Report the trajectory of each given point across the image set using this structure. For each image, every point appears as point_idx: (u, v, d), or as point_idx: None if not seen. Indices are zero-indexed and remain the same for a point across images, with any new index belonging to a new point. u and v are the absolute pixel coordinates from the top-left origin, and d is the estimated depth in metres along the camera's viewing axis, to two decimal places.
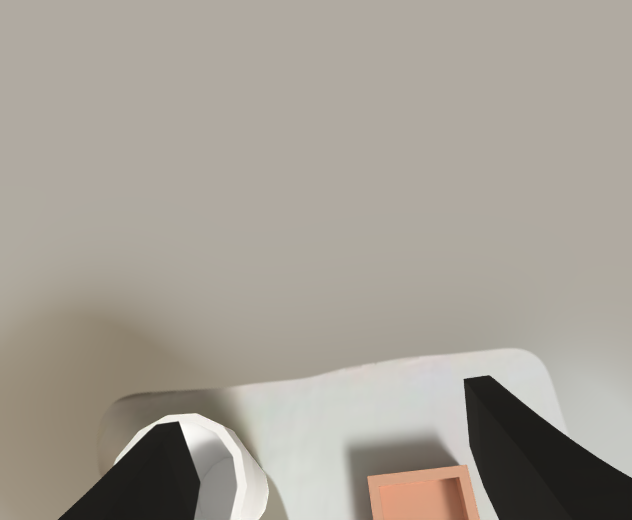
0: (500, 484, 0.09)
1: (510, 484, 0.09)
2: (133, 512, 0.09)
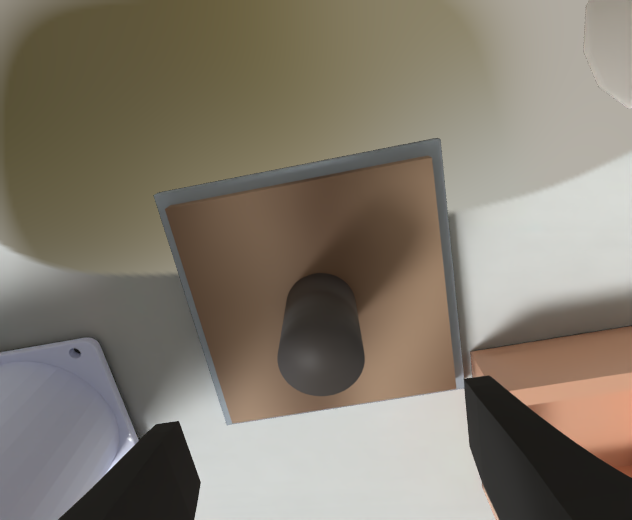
0: (500, 484, 0.09)
1: (510, 484, 0.09)
2: (133, 512, 0.09)
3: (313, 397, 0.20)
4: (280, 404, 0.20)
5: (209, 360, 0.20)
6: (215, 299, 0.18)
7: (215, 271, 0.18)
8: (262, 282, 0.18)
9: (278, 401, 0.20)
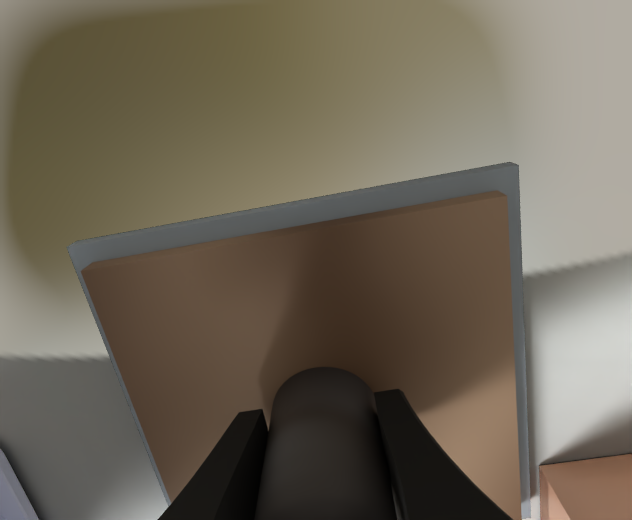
0: (396, 497, 0.09)
1: (398, 498, 0.09)
2: (239, 498, 0.09)
3: None
4: None
5: None
6: (164, 401, 0.12)
7: (163, 362, 0.12)
8: (236, 379, 0.12)
9: None
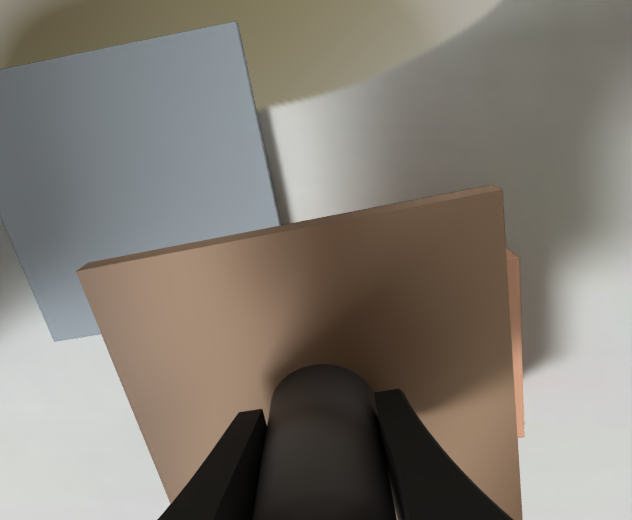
0: (396, 497, 0.09)
1: (398, 498, 0.09)
2: (239, 498, 0.09)
3: None
4: None
5: (26, 269, 0.19)
6: (162, 401, 0.12)
7: (160, 362, 0.12)
8: (234, 377, 0.12)
9: None
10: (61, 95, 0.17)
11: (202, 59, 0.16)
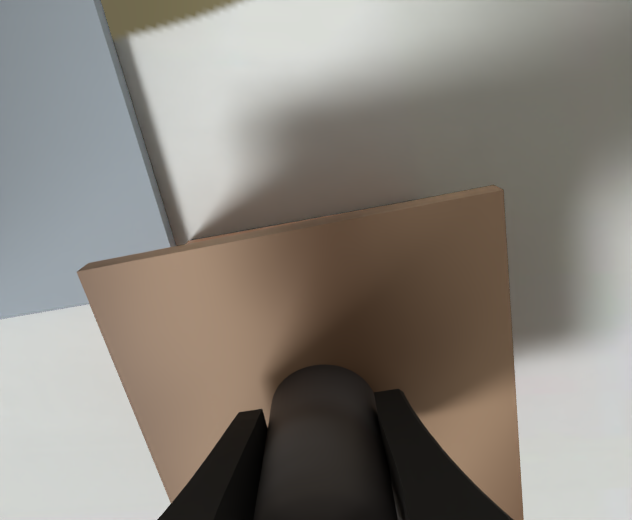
0: (396, 497, 0.09)
1: (398, 498, 0.09)
2: (239, 498, 0.09)
3: None
4: None
5: None
6: (163, 402, 0.12)
7: (161, 362, 0.12)
8: (234, 378, 0.12)
9: None
10: None
11: None
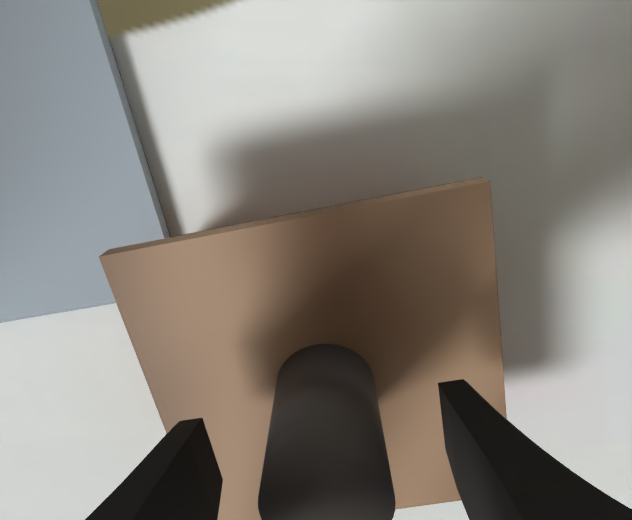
0: (470, 488, 0.09)
1: (478, 488, 0.09)
2: (163, 508, 0.09)
3: None
4: None
5: None
6: (176, 378, 0.13)
7: (174, 341, 0.13)
8: (242, 356, 0.13)
9: None
10: None
11: None
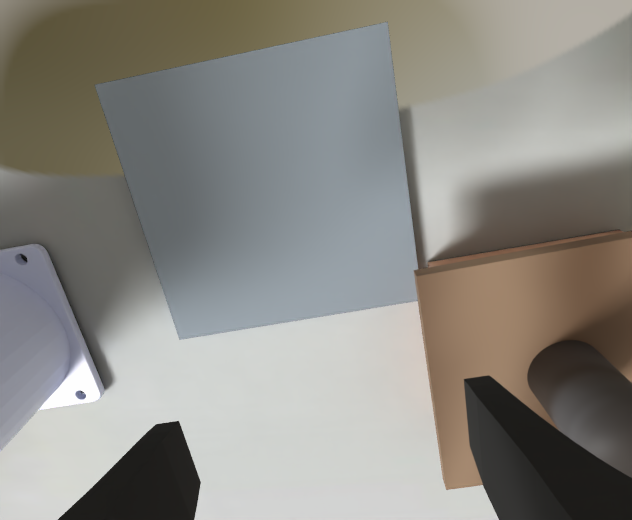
0: (500, 484, 0.09)
1: (510, 484, 0.09)
2: (133, 512, 0.09)
3: None
4: None
5: (159, 268, 0.19)
6: (452, 366, 0.17)
7: (458, 338, 0.17)
8: (506, 349, 0.17)
9: None
10: (208, 97, 0.17)
11: (350, 60, 0.16)
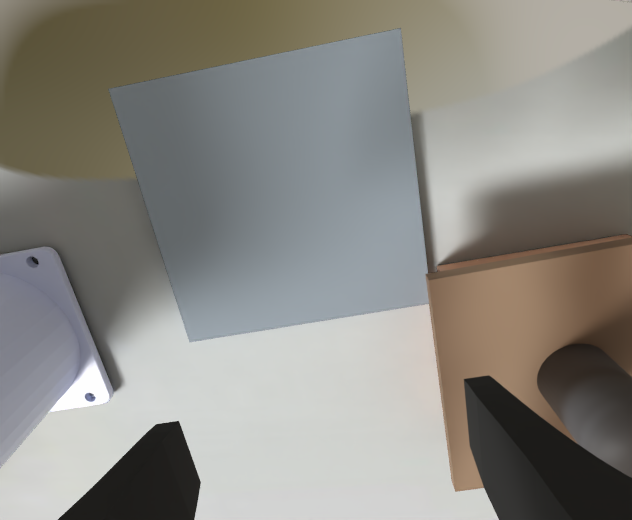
0: (500, 484, 0.09)
1: (510, 484, 0.09)
2: (133, 512, 0.09)
3: None
4: None
5: (170, 271, 0.19)
6: (463, 369, 0.17)
7: (469, 342, 0.17)
8: (517, 353, 0.17)
9: None
10: (221, 101, 0.17)
11: (364, 66, 0.17)
